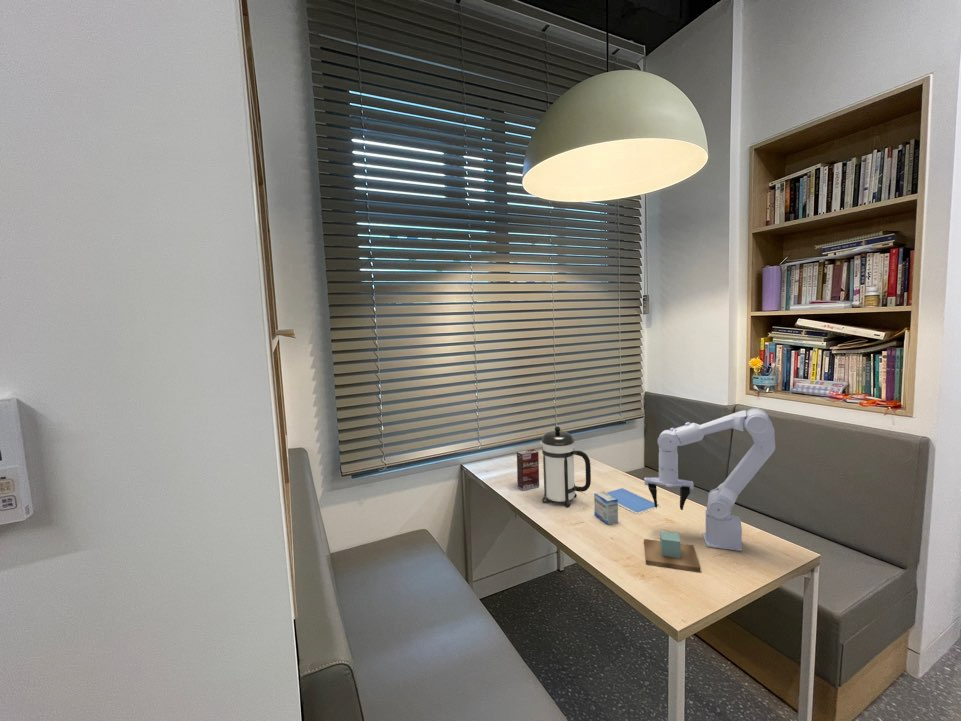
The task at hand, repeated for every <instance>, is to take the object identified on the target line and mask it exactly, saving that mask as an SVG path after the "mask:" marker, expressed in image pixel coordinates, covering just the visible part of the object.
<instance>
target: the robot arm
mask: <svg viewBox="0 0 961 721" xmlns="http://www.w3.org/2000/svg"><path fill="white" fill-rule="evenodd" d="M730 429H733V430H736V431H740V432H744V429H745V430H746V431H747V432H748V433H749V435H750V437H751V438H752V442H753V444H752V446H750V448H749V449H748V450H747V452H746V453H745V455H744V456H743V457H742V458H741V459H740V461H739V462H738V464H736V465H735V467H734V469H733V470H732V471H731V472H730V474H729V475H728V476H727V477H726V479H725V480H724V481H723V482H722V483H720V484H719V485H718V486H717V487H716V488H713V489H711V490H710V491H709V492H708V494H707V504H706V510H705V532H702V533H701V534H702V538H703V539H704V542H705V545H706V547H709V548H715V549H722V550H724V549H725V550H730V551H731V550H732V551H738V552H742V551H743V548H742V547H743V546H742V542H743V541H742V540H743V537H742V536H743V526H742V521H741V518H740V516H737V515H733V513H732V508H733V506H734V505H735V503H736V501H737V499H738V496H739V495H740V493H742V491H743V490H744V489H745V487H746V486H747V485H748V484H749V482H751V481H752V479H753V478H754V476H756V475H757V472H759V470H760V469H761V468H762V467H763V466H764V464H765V463H766V461H768V460H769V458H770V457H771V456H772V454H773V453H775V451H776V439H775V438H776V437H775V428H774V426H773V423H772V420H771V419H770V416H769V415H768V413H767V411H765V410H764V409H761V408H758V407H751V408H750V409H748V410H746V409H744V410H740V411H735V412H734V413H731V414H728V415H725V416H722V417H720V418H719V417H718V418H716V419H713V420H711V421H707V422H704V423H702V424H698V423H696V422H690V421H688V422H685V424H684V425H681V426H678V427H671V428H669V429H664V430H663V431H662V432H660V434H659V436H658V438H657V446H658V451H659V452H658V476H657V477H644V479H643V480H644V486H647V487H648V490H649V492H650V495H651V496H652V499H653V502H654V505H655V507H657V504H658V501H657V498H658V497H657V496H658V495H657V492H658V488H657V486H661V487H662V486H663V487H667V488H679V497H680V498H679V508H680V510H681V511H683V510H684V507H685V503H686V500H687V499H688V497H689V496H690V494H691V490H694V482H693V481H692V480H686V479H679V454H678V446H679V447H682V446H686V445H690V444H693V443H696V442H700V441H702V440H703V439H704V436H706V435H709V434H715V433H717V432H718V433H719V432H723V431H725V430H730Z"/></svg>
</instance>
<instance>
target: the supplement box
mask: <svg viewBox="0 0 961 721" xmlns="http://www.w3.org/2000/svg"><path fill="white" fill-rule="evenodd" d="M539 458H540V457H539V451H538V450H535V449H527V450H523V451H517V452H516V469H517V470H516V474H517V475H516V476H517V478H516V479H517V488H518V489H520V490H521V491H522V492H523V491H527V490H532V489H536V488H540V468H539V466H540V461H539Z"/></svg>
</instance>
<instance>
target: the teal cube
mask: <svg viewBox="0 0 961 721" xmlns="http://www.w3.org/2000/svg"><path fill="white" fill-rule="evenodd" d="M659 536H660V537H659V538H660V540H659V541H660V547H661V554H662V556H668V557H675V558H681V544H682V543H681V539H680V538H681V537H680V534H679V532H672V531H665V530H660V534H659Z"/></svg>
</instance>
